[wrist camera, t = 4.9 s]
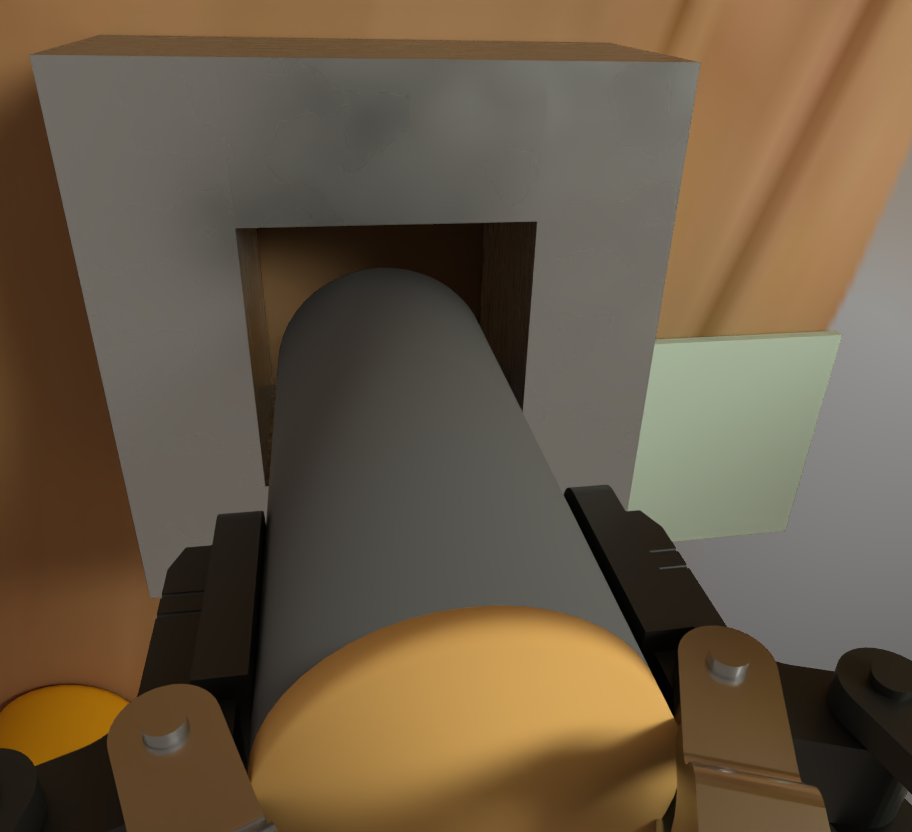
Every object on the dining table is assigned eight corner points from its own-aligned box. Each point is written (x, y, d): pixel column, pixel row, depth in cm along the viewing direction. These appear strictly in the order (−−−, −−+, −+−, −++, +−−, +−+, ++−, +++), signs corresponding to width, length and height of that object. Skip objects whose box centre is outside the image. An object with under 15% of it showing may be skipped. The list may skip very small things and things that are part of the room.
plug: (490, 263, 19) (719, 621, 8) (482, 449, 21) (649, 899, 11) (268, 271, 18) (215, 677, 7) (287, 462, 20) (267, 961, 10)
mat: (835, 330, 29) (842, 334, 28) (780, 525, 33) (785, 531, 33) (604, 341, 27) (607, 346, 27) (578, 544, 32) (581, 550, 31)
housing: (609, 43, 22) (700, 62, 17) (564, 452, 29) (620, 553, 24) (99, 35, 20) (29, 54, 15) (179, 480, 27) (150, 598, 22)
